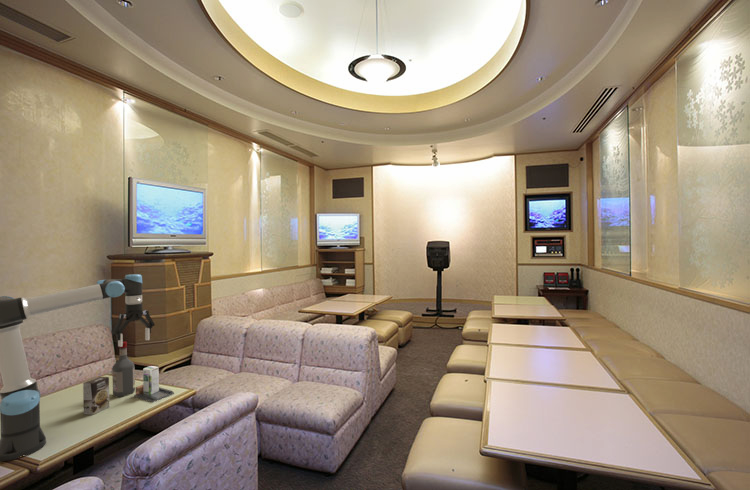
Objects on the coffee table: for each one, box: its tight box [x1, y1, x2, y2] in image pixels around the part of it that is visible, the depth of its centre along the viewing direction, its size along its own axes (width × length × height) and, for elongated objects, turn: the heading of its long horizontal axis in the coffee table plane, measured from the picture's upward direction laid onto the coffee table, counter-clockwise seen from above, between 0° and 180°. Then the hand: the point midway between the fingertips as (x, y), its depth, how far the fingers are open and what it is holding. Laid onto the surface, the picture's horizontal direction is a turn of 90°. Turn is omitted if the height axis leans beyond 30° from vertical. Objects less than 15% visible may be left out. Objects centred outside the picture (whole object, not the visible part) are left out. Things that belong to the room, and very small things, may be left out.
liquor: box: [111, 340, 136, 398], centre depth 202 cm, size 9×9×30 cm
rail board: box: [133, 384, 175, 403], centre depth 199 cm, size 12×18×5 cm, turn 63°
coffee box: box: [82, 376, 110, 416], centre depth 182 cm, size 9×6×16 cm
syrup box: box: [142, 365, 160, 395], centre depth 200 cm, size 6×6×14 cm
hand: (134, 343), depth 186 cm, fingers open, 13 cm apart
